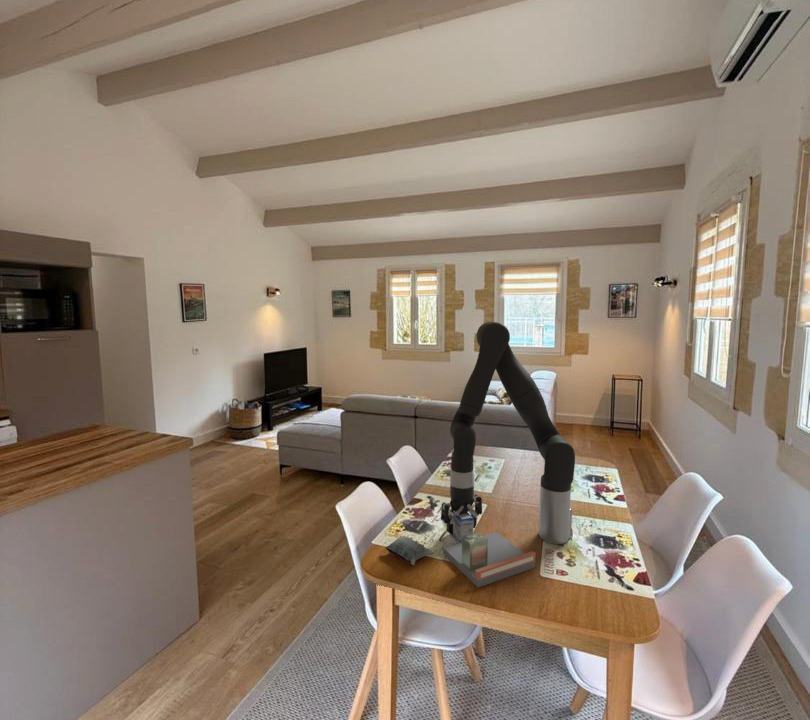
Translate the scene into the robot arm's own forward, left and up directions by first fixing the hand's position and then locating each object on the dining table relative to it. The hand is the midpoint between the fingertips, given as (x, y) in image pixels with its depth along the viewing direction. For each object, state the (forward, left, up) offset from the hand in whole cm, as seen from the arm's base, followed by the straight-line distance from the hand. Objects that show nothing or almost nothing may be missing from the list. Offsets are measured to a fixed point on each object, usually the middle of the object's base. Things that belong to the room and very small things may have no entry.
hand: (461, 530), depth 142 cm
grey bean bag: (+20, +1, -3) cm, 20 cm away
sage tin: (+6, +17, -1) cm, 18 cm away
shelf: (0, +14, -3) cm, 14 cm away
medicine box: (0, 0, -3) cm, 3 cm away
